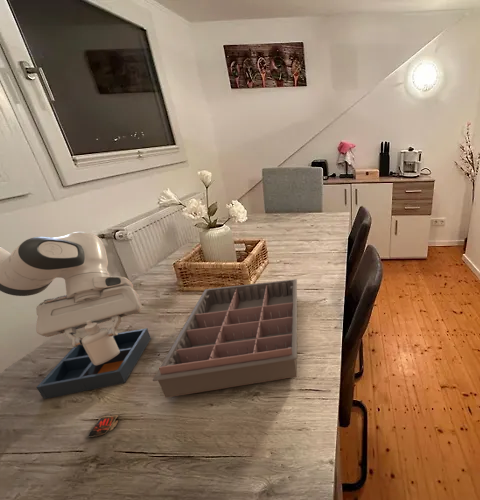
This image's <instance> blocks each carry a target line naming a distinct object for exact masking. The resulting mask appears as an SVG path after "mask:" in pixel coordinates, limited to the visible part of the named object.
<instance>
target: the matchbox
mask: <svg viewBox="0 0 480 500" xmlns="http://www.w3.org/2000/svg"><path fill="white" fill-rule="evenodd" d="M117 418H118V414H116V415H109V414H108V415H103V416H101V417H99V418H98V420H97V421H96V422H95V424H94V425H93V427H92V428H91V429H90V430H89V433H88V436H87V437H88V438H96V437H99V436H103V435H105V434H106V433H107V432H110V431H113V430H114V428H116V426H117V424H118V423H119V420H116V419H117Z"/></svg>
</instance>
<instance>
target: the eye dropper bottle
mask: <svg viewBox="0 0 480 500" xmlns="http://www.w3.org/2000/svg"><path fill="white" fill-rule="evenodd" d="M86 322H87V325H86V326H85V327H84V330H85V333H86V335H85V336H84V337H82V338H83V339H82V341H81V342H82V345H83V347H84V349H85V350H86V352H87V354H88V356H89V358H90V360H91V362H92V363H93V364H94V365H100V364H103V363H105V362H107V361H109V360H111V359H112V358H114V357H115V356H117V355H118V354H119V353H120V350H119V348H118V346H117V344H116V342H115V340H114V338H113V336H112V337H109V336H108V331H107V329H108V328H106V327H105V328H100V327H99V325H98V324H99V323H98V324H97V323H92V322H91V321H90V320H88V321H86Z"/></svg>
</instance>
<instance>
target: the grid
mask: <svg viewBox="0 0 480 500" xmlns="http://www.w3.org/2000/svg"><path fill="white" fill-rule="evenodd" d="M117 333H118V335H116V336H113V338H114V340H115V342H116V344H117V346H118V348H119V350H120V353H119V354H118V355H117V356H115V357H114V358H112V359H111V360H109V361H107V362H105V363H103V364H100V365H94V364H93V363H92V362H91V360H90V358H89V356H88V354H87V352H86V350H85V349H84V347H83V345H82V346H78V347H73V346H72V348H71V349H70V350H69V351H68V353H66V355H65V356H63V358H62V359H61V360H60V361H59V362H58V363H57V364H56V365H55V366H54V367H53V368H52V370H51V371H50V372H49V373H48V374H47V375H46V376H45V377H44V378H43V379H42V381H41V382H39V384H38V385H37V386H36V390H37V391H38V393H39V394H40V396H41V397H42V399H43V400H47V399H52V398H57V397H61V396H67V395H72V394H77V393H82V392H87V391H91V390H97V389H102V388H106V387H111V386H116V385H122V384H125V383H126V382H127V380H128V379H129V377H130V376H131V374H132V373H133V370H134V369H135V366H136V365H137V363H138V361H139V360H140V358H141V356H142V355H143V353H144V351H145V350H146V348H147V346H148V345H149V343H150V341H151V339H152V336H151V334H150V332H149V329H148V328H146V327H145V328H141V329H135V330H128V331H122V332H117Z"/></svg>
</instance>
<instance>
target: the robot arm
mask: <svg viewBox="0 0 480 500" xmlns="http://www.w3.org/2000/svg"><path fill="white" fill-rule="evenodd" d="M108 266H109V260H108V253H107V250H106V247H105V244H104V242H103V240H101V238H100V237H99V236H98V235H96V234H94V233H91V232H86V231H73V232H70V233H68V234H65V235H61V236H56V237H54V236H53V237H49V236H35V237H30V238H28V239H25V240H24V241H22V242H21V243H20V244H19V245H18V246H17V247H16V248H15V249H14V250H13V251H12V252H9V251H8V250H6V249H5V248H4V247H2V246H0V292H2V293H4V294H6V295H10V296H14V297H15V296H16V297H29V296H34V295H38V294H40V293H41V292H44V291H45V290H46V289H47V288H48V287H49V286H50V285H51V284H52V282H53V281H54V280H55V279H57V278H60V279H63V280H64V282H65V284H64V285H65V291H66V292H65V293H66V294H64V295H60V296H57V297H53V298H47V299H45V300H43V301H42V302H40V303H39V304H38V305H36V308H35V309H36V311H35V312H36V316H37V318H36V328H35V329H36V333H37V334H38V335H39V336H42V337H44V338H45V337H46V338H49V337H50V338H51V337H53V336H58V335H61V334H64V335H65V336H66V337H67V338H69V340H71V344H72V348H73V347H78V346H82V342H81V341H82V339H83V338H84V337H77V336H76V334H77V330H80V329H83V328H84V327H85V326H86V325H87V322H86V321H88V320H90V321H91V322H92V323H97V324H102V323H106V322H109V321H111V322H112V326H111V327H110V328H106V329H107V331H108V336H109V337H112V336H116V335H118V333H119V332H118V328H119V327H120V325H121V323H122V318H124V317H127V316H131V315H135V314H139V313H140V312H141V311H142V310H143V305H142V301H141V298H140V295H139V294H138V291H136V290H135V289H134V285H133V283H132V281H131V280H129V279H128V278H127V277H125V276H111V274H110V273H109V271H108Z"/></svg>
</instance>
